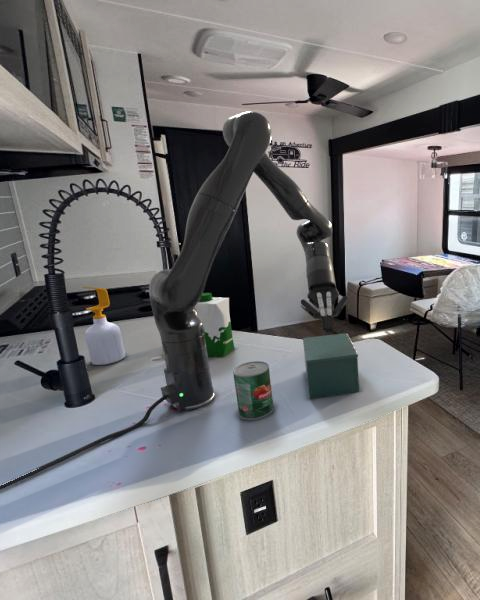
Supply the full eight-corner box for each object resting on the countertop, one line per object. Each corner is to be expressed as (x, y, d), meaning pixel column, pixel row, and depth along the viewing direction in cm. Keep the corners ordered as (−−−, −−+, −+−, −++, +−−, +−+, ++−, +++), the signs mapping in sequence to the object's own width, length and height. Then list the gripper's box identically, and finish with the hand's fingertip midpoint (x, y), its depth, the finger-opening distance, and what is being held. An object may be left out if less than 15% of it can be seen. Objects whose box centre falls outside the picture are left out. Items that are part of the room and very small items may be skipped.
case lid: (358, 357, 95) (357, 354, 95) (306, 363, 92) (306, 360, 92) (347, 335, 110) (347, 332, 110) (303, 340, 108) (302, 338, 107)
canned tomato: (272, 417, 88) (267, 373, 85) (236, 422, 86) (229, 377, 83) (274, 400, 95) (270, 359, 92) (241, 404, 94) (235, 363, 91)
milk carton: (214, 347, 132) (206, 290, 127) (239, 347, 131) (231, 291, 126) (199, 357, 124) (189, 297, 119) (224, 358, 122) (215, 297, 117)
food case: (359, 391, 98) (357, 356, 96) (309, 398, 95) (306, 362, 93) (349, 367, 113) (347, 335, 110) (306, 372, 110) (303, 340, 108)
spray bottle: (84, 364, 121) (65, 288, 115) (112, 353, 129) (95, 282, 123) (105, 367, 118) (87, 289, 112) (132, 355, 127) (116, 283, 121)
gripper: (295, 269, 102) (301, 326, 94) (344, 266, 105) (354, 321, 97) (296, 285, 109) (302, 340, 100) (343, 281, 112) (352, 334, 103)
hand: (328, 330), depth 99 cm, fingers closed
